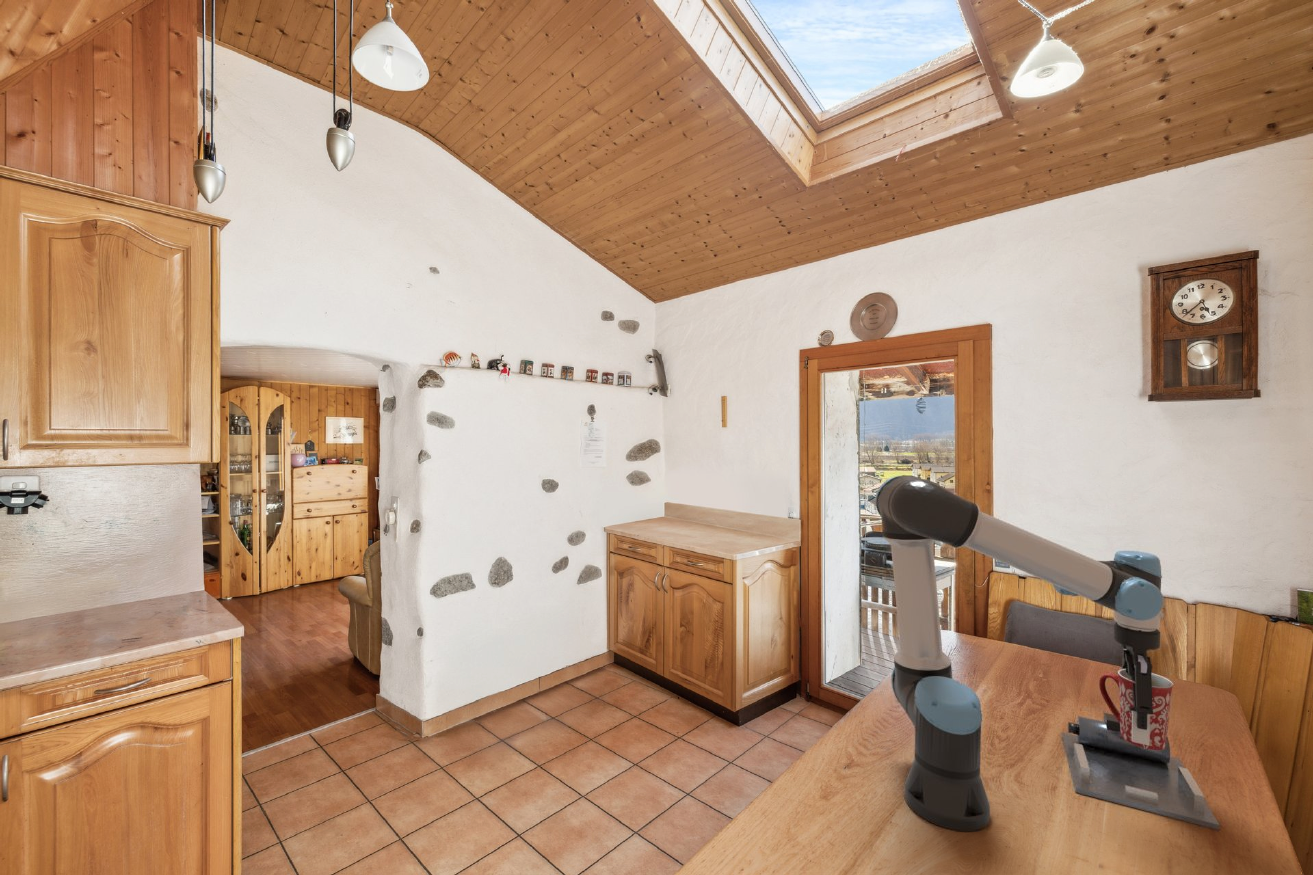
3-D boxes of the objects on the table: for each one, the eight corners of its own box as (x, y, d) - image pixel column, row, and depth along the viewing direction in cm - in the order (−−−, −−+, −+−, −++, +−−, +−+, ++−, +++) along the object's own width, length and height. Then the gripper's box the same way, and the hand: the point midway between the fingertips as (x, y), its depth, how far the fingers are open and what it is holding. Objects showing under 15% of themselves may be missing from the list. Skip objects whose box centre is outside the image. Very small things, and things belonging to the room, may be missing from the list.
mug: (1182, 747, 118) (1183, 682, 118) (1157, 757, 115) (1158, 689, 115) (1113, 719, 130) (1113, 659, 130) (1088, 727, 126) (1089, 665, 126)
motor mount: (1219, 830, 108) (1220, 785, 108) (1075, 792, 119) (1076, 751, 119) (1179, 762, 131) (1179, 725, 131) (1061, 736, 142) (1062, 701, 142)
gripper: (1174, 644, 110) (1172, 762, 110) (1147, 615, 129) (1146, 715, 129) (1124, 637, 114) (1123, 751, 114) (1105, 609, 132) (1104, 707, 133)
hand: (1135, 732), depth 121 cm, fingers closed on mug, 8 cm apart
